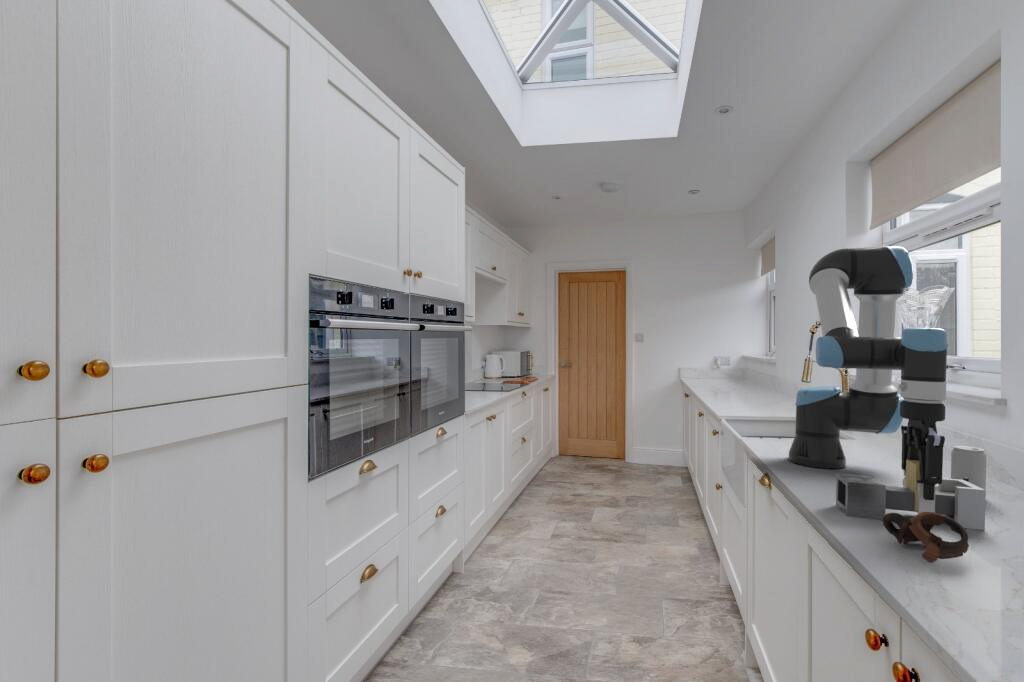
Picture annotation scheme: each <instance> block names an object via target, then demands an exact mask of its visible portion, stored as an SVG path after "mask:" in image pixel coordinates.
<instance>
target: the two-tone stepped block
mask: <svg viewBox="0 0 1024 682" xmlns="http://www.w3.org/2000/svg"><path fill="white" fill-rule="evenodd" d="M916 480H921V479H920V467H919V460H906V487H904V486H897V485H895V486H892V485H886V508H885V510H891V511H893V510H895V511H902V512H903V511H904V512H914V513H917V507H918V483H917V481H916ZM935 513H938V514H944V515H955V491H943V490H936V485H935Z"/></svg>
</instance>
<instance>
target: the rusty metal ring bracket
mask: <svg viewBox="0 0 1024 682" xmlns="http://www.w3.org/2000/svg"><path fill="white" fill-rule="evenodd" d="M881 521H882V523H883V526H884V527H885V529H886V531H887V532H888V533H889V534H891V535H892V536H893V537H895V538H896V540H897V542H898V543H899V544H904V545H906V544H909V543H915V542H918V543H920V542H921V543H922V544H923V545H924V546H925V549H924V551H923V552H922V553H921V557H922V559H924V560H925V561H927V562H929V563H934V562H936V561H937V560H938V559H939V560H947V559H949V560H950V559H955V558H960V557H963V556H964V554H967V552H968V550H969V546H970V545H969V542H968V541H969V534H968V532H967V531H966V528H963V527H962V526H961V525H960V524H959V523H957V522H956V521H955V520H953V519H951V518H949V517H947V516H944V515H941V514H938V513H934V512H922V513H919V514H918V513H917V514H916V515H915V516H912V517H906V516H904V515H903V514H901V513H898V512H889V513H885V517H883V519H881ZM894 524H895V525H894ZM943 524H945V525H947V526H948V527H949V528H950V529H951V531H953V532H954V533H956V534H958V535H959V536H960V540H958V541H947V540H944V539H943V538H942V537H940V536H938V535H936V534H934V533H933V532H931V529H933V528H934V526H941V525H943ZM896 525H897V526H898V528H897V526H896Z"/></svg>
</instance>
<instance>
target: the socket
mask: <svg viewBox="0 0 1024 682" xmlns="http://www.w3.org/2000/svg"><path fill="white" fill-rule="evenodd" d="M937 485H938V490H943V491H955V515H944V514H941V515H944V516H947V517H949V518H951V519H953V520H955V521H956V522H957V523H959V524H960V525H961V526H962V527H963V528H964V529H971V530H978V531H979V530H981V531H982V530H983V531H985V529H986V527H985V526H986V497H985V495H986V493H987V491H986V490H987V489H986V490H984V489H982V488H980V487H978V486H976V485H973V484H971V483H969V482H967V481H965V480H960V479H951V478H945V477H944V478H943V477H942V484H937ZM986 496H987V495H986Z"/></svg>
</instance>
